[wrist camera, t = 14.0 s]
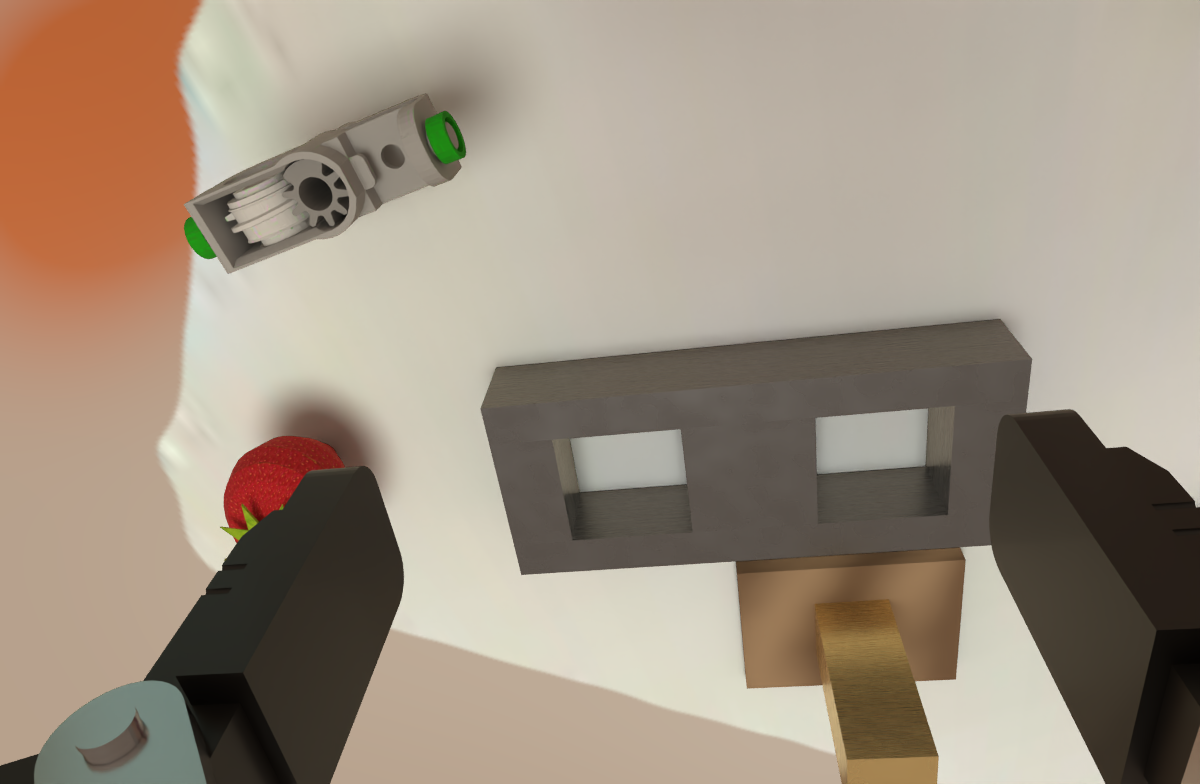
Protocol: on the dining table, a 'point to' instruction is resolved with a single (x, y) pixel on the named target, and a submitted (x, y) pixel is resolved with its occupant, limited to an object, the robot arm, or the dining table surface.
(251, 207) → the mechanical component
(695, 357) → the grey slotted block
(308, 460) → the strawberry
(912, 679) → the brass peg
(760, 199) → the dining table surface
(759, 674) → the walnut board
